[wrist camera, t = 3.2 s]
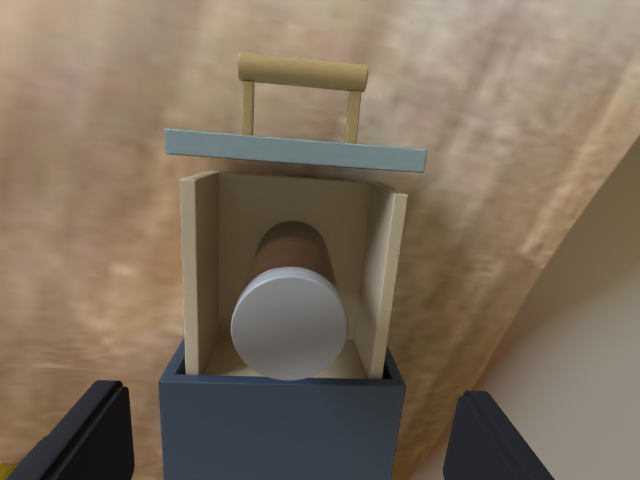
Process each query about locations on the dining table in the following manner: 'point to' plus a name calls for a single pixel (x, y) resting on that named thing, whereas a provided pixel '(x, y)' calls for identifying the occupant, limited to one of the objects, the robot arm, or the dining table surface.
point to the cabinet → (278, 425)
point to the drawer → (290, 205)
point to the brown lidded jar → (290, 306)
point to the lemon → (6, 470)
